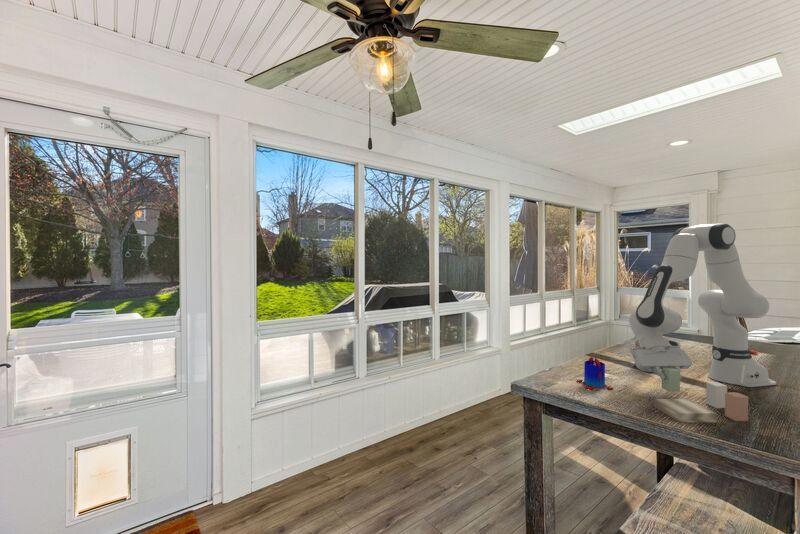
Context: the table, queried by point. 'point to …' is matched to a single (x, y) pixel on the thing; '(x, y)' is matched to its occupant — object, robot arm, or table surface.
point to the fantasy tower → (594, 375)
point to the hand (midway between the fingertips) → (672, 378)
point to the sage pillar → (671, 379)
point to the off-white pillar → (715, 394)
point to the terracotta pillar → (736, 406)
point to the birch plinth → (685, 410)
